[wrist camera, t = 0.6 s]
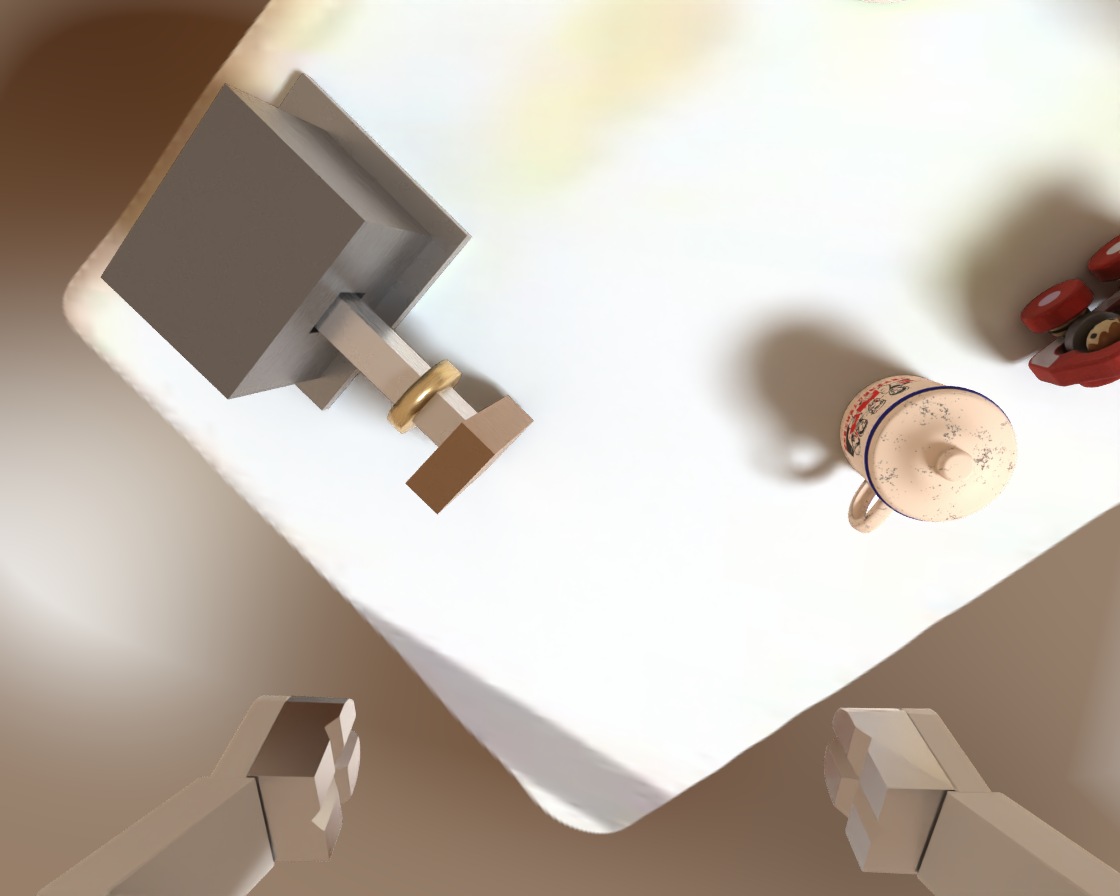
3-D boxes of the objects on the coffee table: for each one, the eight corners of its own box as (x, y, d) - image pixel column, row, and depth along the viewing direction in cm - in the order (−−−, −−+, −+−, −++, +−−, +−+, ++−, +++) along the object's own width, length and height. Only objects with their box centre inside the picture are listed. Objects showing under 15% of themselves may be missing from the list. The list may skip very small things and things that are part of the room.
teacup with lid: (884, 348, 50) (943, 364, 39) (988, 411, 50) (1078, 445, 38) (789, 476, 53) (819, 524, 42) (886, 536, 53) (942, 600, 42)
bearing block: (471, 236, 53) (407, 218, 41) (329, 408, 59) (233, 439, 46) (310, 77, 53) (194, 8, 40) (181, 266, 58) (44, 258, 46)
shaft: (535, 418, 54) (497, 452, 43) (485, 470, 56) (435, 516, 45) (351, 238, 54) (261, 223, 42) (306, 296, 55) (208, 297, 44)
